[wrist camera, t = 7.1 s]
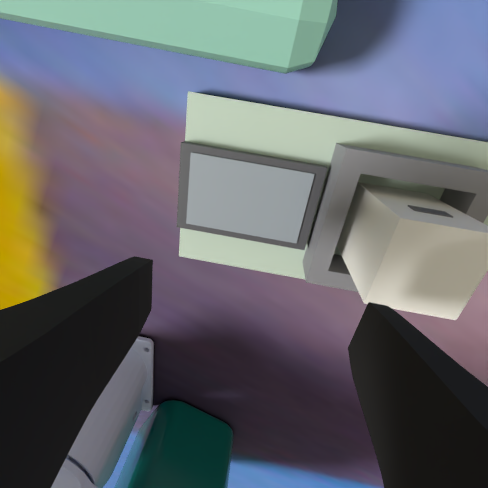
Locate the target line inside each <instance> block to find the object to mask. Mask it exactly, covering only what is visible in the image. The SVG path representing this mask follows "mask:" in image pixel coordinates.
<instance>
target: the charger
mask: <svg viewBox="0 0 488 488" xmlns="http://www.w3.org/2000/svg"><path fill="white" fill-rule="evenodd" d="M337 247H338V249H339V251H340V253H341V255H342V258H343V260H344V262H345V264H346V266H347V268H348V270H349V273H350V275H351V277H352V279H353V281H354V283H355V285H356V288H357V290H358V292H359V294H360V296H361V298H362V300H363V303H365V304H368V303H369V302H371V303H376V304H381V305H386V306H389V307H390V308H392V309H398V310H403V311H408V312H414V313H419V314H425V315H430V316H436V317H441V318H447V319H452V320H457V318H458V316H459V315H460V313H461V312H462V310H463V309H464V307H465V305H466V304H467V302H468V301H469V299H470V297H471V296H472V294H473V293H474V291H475V290H476V288H477V286H478V285H479V283H480V282H481V280H482V279H483V277H484V275H485V274H486V272H487V271H488V226H487V225H485V224H483V223H482V222H480V221H478V220H476V219H474V218H472V217H470V216H468V215H466V214H465V213H463V212H461V211H459V210H457V209H455V208H453V207H451V206H449V205H448V204H446V203H444V202H442V201H440V200H438V199H436V198H434V197H433V196H431V195H429V194H425V193H419V192H414V191H408V190H402V189H396V188H390V187H385V186H379V185H373V184H367V183H361V182H358V183H357V186H356V189H355V192H354V195H353V198H352V201H351V204H350V207H349V210H348V213H347V216H346V219H345V222H344V225H343V228H342V231H341V234H340V237H339V240H338V243H337Z"/></svg>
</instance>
